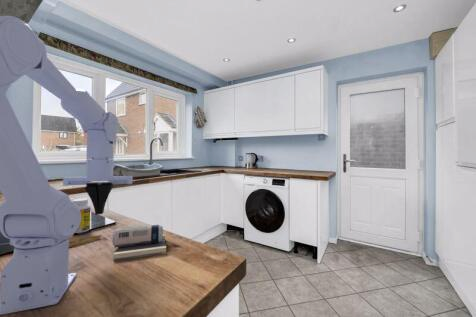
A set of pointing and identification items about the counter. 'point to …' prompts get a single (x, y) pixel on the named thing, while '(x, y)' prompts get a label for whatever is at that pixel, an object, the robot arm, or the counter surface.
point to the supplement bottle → (83, 215)
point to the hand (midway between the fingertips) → (99, 213)
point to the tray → (140, 250)
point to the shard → (82, 240)
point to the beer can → (137, 235)
